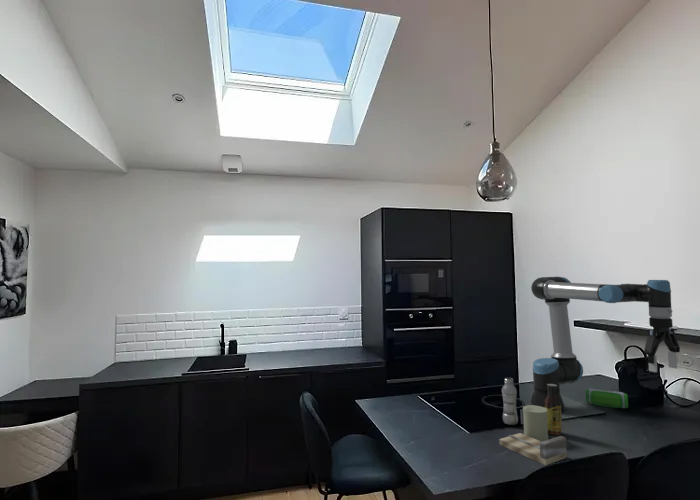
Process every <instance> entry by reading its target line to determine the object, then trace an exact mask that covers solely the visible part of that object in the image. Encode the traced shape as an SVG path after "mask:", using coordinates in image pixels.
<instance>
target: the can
mask: <svg viewBox="0 0 700 500" xmlns="http://www.w3.org/2000/svg"><path fill="white" fill-rule="evenodd" d="M522 412H523V413H522V414H523V417H522V418H523V434H524V435H526V436H529V437H531V438H534V439H536V440H539V441H541V442H544V441H547V440H550V439H549V434H548V425H547V409H546V408H544V407H540V406H535V405H531V404H528V405H527V404H526V405H524V406H522Z"/></svg>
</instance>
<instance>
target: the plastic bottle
mask: <svg viewBox="0 0 700 500" xmlns="http://www.w3.org/2000/svg"><path fill="white" fill-rule="evenodd" d="M517 393H518V390H517V388H516V386H515V384H514V378H512V377H505V378H504V385H503V386H502V388H501V394H502V401H503V402H502V403H503V404H502V405H503V409H502V410H503V412H502V421H503V423H504V424H506V425H508V426H517V424H518V422H519V416H518V411H517V396H518V394H517Z"/></svg>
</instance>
